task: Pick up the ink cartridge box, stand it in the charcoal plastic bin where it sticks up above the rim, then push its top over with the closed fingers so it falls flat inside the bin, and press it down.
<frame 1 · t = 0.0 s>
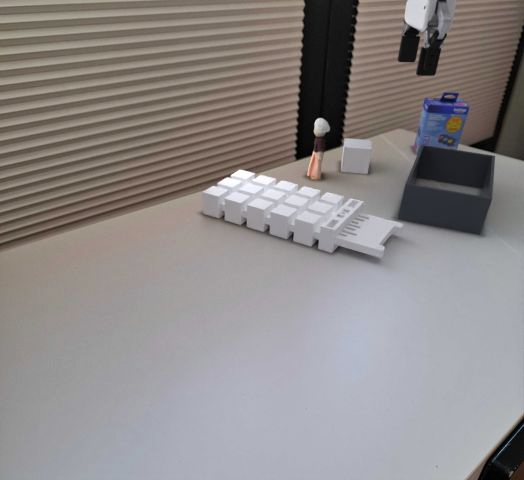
hand: (415, 68, 87), 25 cm above the table, tool pointing down, fingers open, 9 cm apart
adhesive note: (353, 170, 117), on the table
bin: (443, 205, 104), on the table
ink cartridge box: (433, 154, 127), on the table
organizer: (300, 227, 95), on the table
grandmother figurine: (315, 180, 112), on the table
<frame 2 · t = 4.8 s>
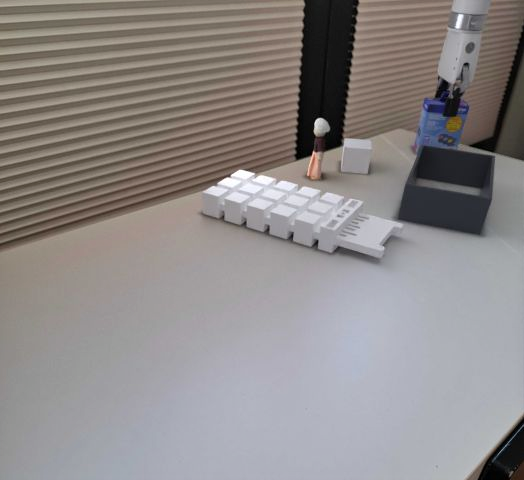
hand: (444, 111, 120), 10 cm above the table, tool pointing down, fingers closed on ink cartridge box, 5 cm apart
ink cartridge box: (433, 154, 127), on the table, touching gripper
everything else where it was.
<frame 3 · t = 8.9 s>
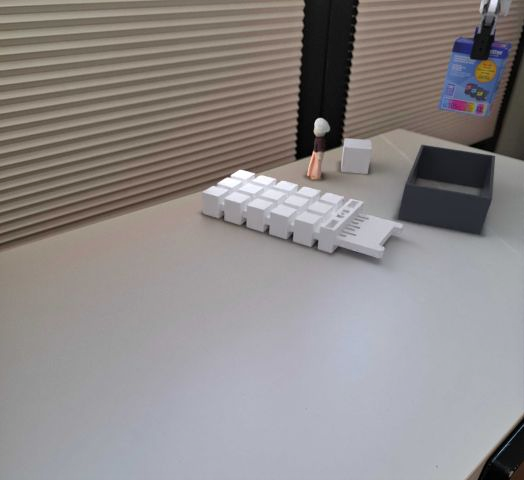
hand: (479, 55, 96), 25 cm above the table, tool pointing down, fingers closed on ink cartridge box, 5 cm apart
ink cartridge box: (463, 111, 102), point 15 cm above the table, touching gripper
everything else where it was.
when the fingers open (10 cm above the table, at t = 13.0 s): ink cartridge box stays where it is, resting on bin.
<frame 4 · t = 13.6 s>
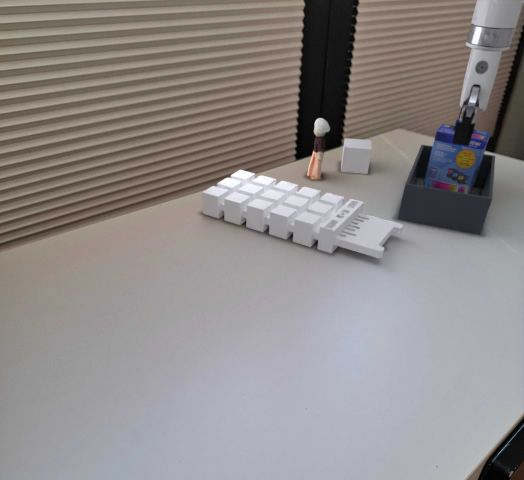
hand: (462, 136, 101), 12 cm above the table, tool pointing down, fingers open, 9 cm apart
ink cartridge box: (446, 190, 109), resting on bin
everything else where it was.
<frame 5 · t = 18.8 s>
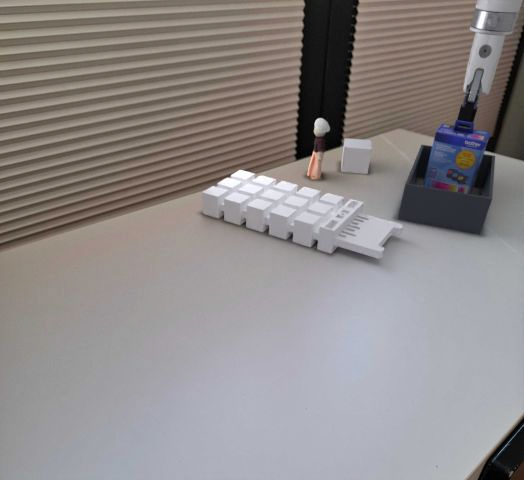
hand: (463, 127, 104), 12 cm above the table, tool pointing down, fingers closed
ink cartridge box: (446, 190, 109), resting on bin, touching gripper
everything else where it was.
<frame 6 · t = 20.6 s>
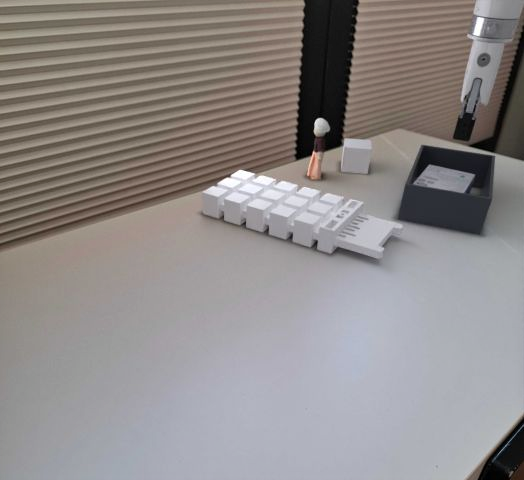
hand: (461, 138, 99), 12 cm above the table, tool pointing down, fingers closed
ink cartridge box: (448, 181, 106), point 3 cm above the table, touching bin
everything else where it was.
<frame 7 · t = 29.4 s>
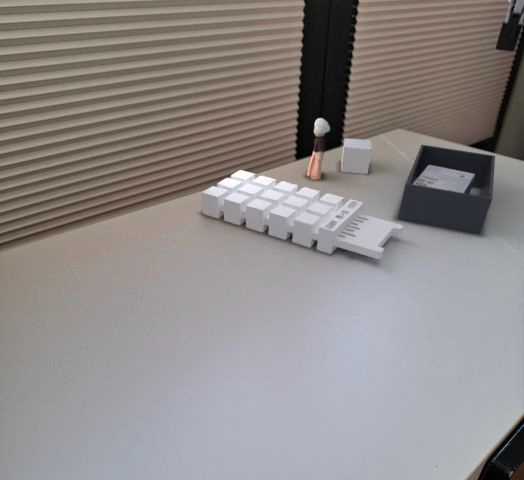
hand: (504, 49, 91), 27 cm above the table, tool pointing down, fingers closed
nothing on the table moved.
at the end: ink cartridge box inside the target area in the bin (4.9 cm from its centre), point 3.1 cm above the bin's base; ink cartridge box tilted 89° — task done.
